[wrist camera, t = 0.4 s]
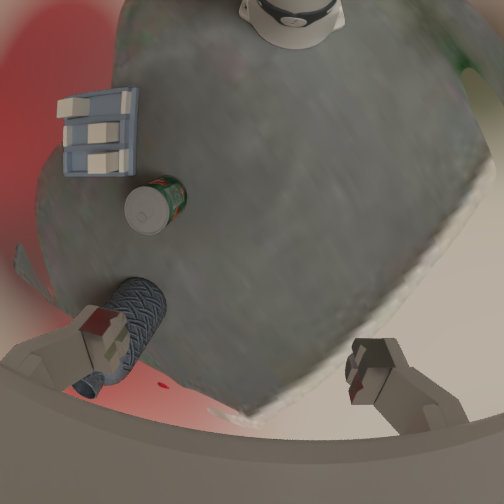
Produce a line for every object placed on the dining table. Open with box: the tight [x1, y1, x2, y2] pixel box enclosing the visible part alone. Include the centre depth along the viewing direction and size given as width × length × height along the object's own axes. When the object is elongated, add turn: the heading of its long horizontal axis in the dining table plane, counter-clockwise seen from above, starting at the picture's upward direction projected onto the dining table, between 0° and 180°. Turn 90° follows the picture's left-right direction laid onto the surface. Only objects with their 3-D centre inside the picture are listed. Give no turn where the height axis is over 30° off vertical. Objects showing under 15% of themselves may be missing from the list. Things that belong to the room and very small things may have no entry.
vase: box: [72, 278, 167, 399], centre depth 51 cm, size 12×12×28 cm
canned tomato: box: [124, 176, 188, 235], centre depth 50 cm, size 8×8×11 cm
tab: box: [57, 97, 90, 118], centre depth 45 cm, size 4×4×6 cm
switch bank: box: [63, 87, 139, 177], centre depth 49 cm, size 17×17×3 cm
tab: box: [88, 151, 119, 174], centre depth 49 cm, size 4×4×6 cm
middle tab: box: [88, 123, 120, 144], centre depth 46 cm, size 4×4×6 cm
